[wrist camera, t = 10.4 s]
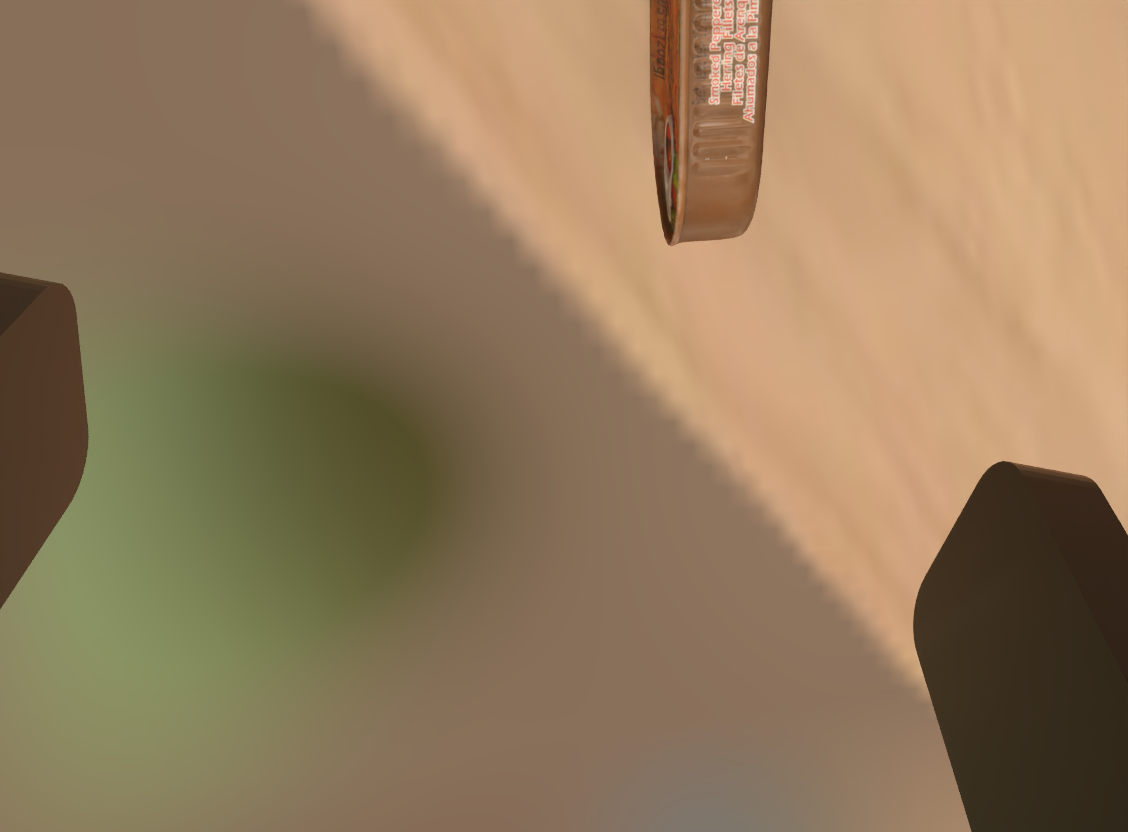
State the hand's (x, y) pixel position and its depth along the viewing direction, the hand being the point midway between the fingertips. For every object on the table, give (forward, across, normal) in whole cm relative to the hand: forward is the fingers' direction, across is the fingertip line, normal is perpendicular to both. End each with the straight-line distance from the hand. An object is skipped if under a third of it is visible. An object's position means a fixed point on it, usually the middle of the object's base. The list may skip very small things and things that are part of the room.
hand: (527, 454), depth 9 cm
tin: (+30, -4, +2) cm, 31 cm away
